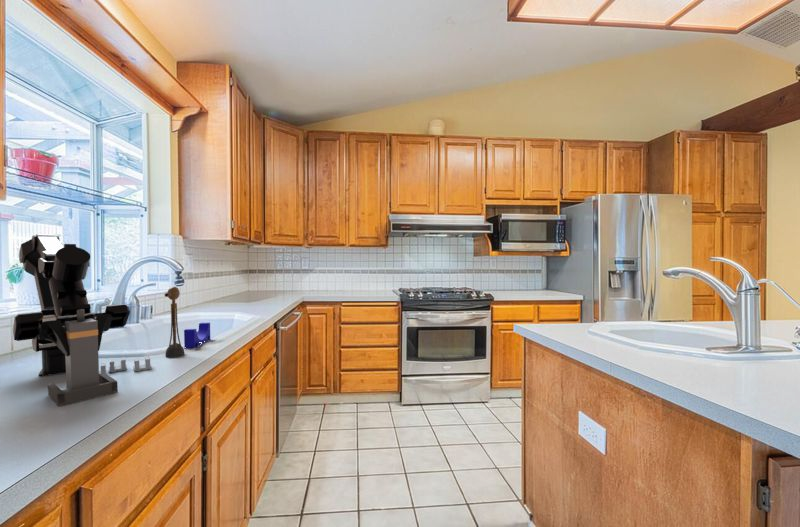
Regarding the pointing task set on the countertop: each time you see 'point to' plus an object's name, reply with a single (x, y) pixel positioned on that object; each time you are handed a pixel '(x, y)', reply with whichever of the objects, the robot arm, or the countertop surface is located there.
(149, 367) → the clips
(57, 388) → the dark grey square tray
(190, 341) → the cable clip
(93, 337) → the connector
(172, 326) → the wooden tabletop sculpture
